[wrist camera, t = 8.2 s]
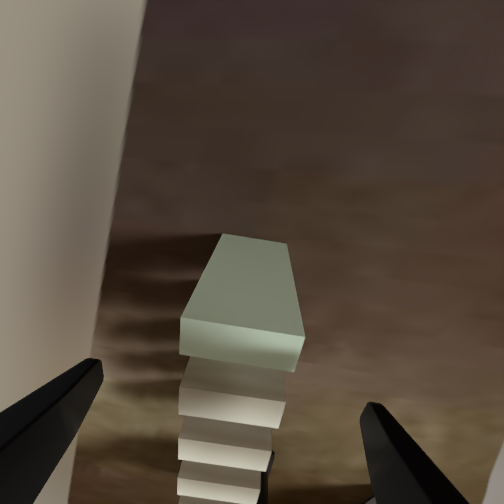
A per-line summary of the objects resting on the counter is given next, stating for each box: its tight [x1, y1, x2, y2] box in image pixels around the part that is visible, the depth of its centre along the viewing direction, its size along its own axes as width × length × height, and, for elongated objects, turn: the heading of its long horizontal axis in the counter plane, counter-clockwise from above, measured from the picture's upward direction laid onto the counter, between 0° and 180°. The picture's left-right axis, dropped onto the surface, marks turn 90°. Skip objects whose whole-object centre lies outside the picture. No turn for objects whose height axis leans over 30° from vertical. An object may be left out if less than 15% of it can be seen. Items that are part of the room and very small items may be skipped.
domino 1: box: [179, 234, 305, 372], centre depth 15 cm, size 2×5×10 cm, turn 82°
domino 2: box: [179, 356, 286, 429], centre depth 16 cm, size 2×5×10 cm, turn 83°
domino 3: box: [178, 415, 272, 472], centre depth 18 cm, size 2×5×10 cm, turn 82°
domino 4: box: [177, 460, 261, 504], centre depth 19 cm, size 2×5×10 cm, turn 82°
